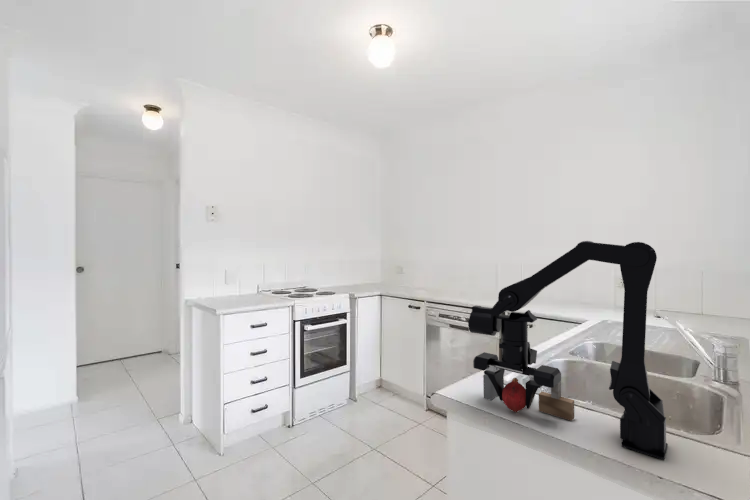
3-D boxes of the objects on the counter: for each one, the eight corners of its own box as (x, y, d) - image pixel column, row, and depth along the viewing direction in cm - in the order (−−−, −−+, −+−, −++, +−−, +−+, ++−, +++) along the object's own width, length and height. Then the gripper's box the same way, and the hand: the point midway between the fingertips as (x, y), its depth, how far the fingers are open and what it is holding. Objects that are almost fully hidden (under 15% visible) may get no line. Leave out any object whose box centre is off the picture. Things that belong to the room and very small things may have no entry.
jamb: (501, 393, 93) (501, 370, 93) (490, 400, 89) (490, 376, 89) (494, 390, 94) (493, 368, 94) (483, 398, 90) (483, 375, 90)
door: (574, 417, 79) (574, 384, 79) (571, 420, 78) (571, 387, 77) (541, 407, 84) (541, 376, 84) (538, 410, 82) (538, 379, 82)
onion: (524, 420, 78) (524, 385, 78) (498, 413, 82) (498, 379, 82) (531, 410, 83) (530, 377, 83) (506, 404, 86) (506, 372, 86)
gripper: (568, 338, 81) (568, 405, 82) (492, 326, 94) (493, 383, 95) (552, 349, 73) (553, 423, 74) (471, 334, 86) (472, 397, 87)
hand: (515, 404), depth 82 cm, fingers closed on onion, 6 cm apart
